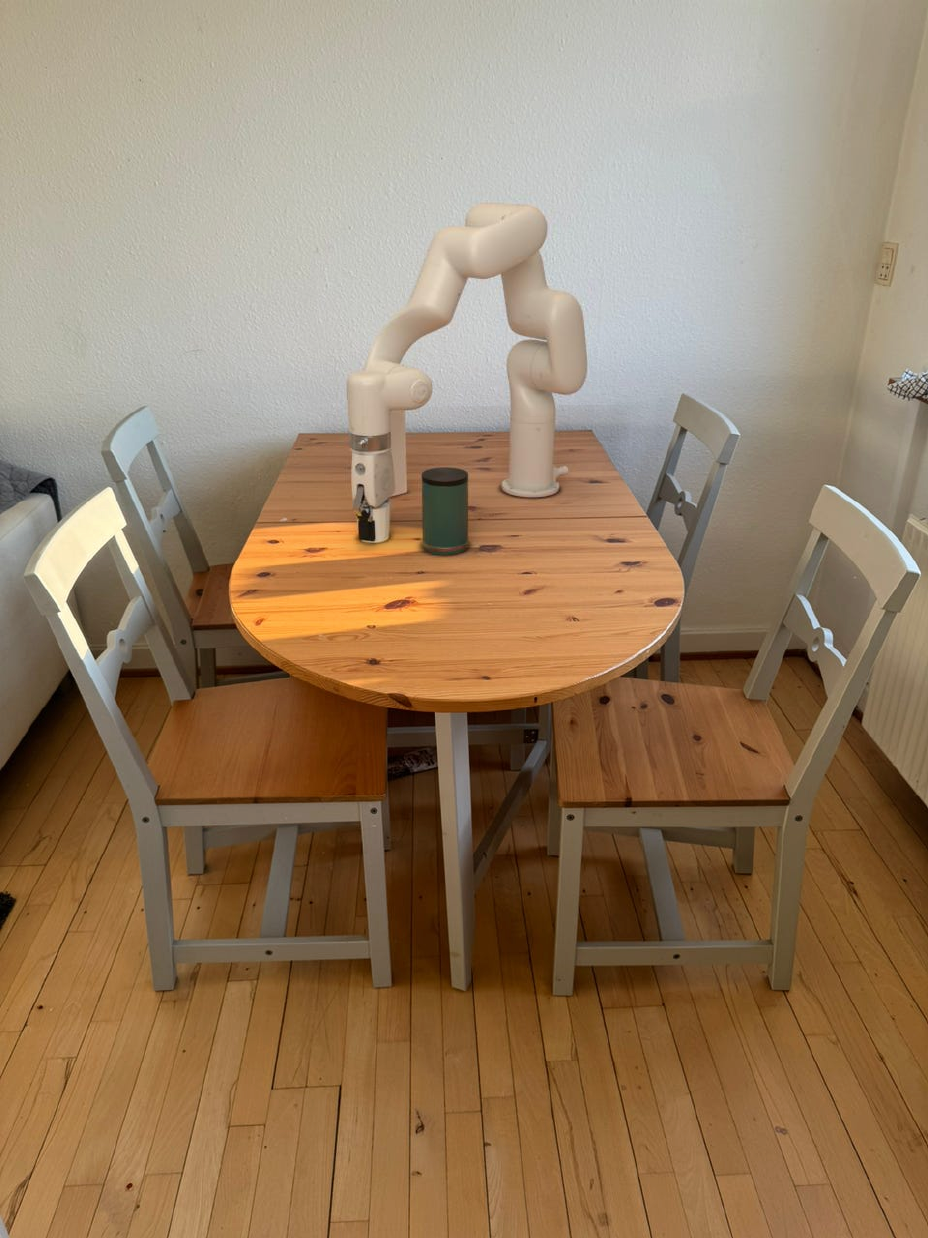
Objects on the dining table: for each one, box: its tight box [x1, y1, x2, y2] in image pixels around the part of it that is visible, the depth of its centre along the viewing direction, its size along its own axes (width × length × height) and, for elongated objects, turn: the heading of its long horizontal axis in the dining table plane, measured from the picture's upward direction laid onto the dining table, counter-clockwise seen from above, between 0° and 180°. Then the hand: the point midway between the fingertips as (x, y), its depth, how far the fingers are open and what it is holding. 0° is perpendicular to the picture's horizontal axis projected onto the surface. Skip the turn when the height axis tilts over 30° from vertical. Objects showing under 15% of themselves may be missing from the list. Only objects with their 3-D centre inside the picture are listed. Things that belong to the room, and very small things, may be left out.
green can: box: [421, 466, 469, 556], centre depth 173 cm, size 8×8×14 cm
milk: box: [390, 410, 408, 498], centre depth 199 cm, size 6×6×22 cm
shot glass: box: [355, 498, 392, 544], centre depth 178 cm, size 7×7×7 cm
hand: (374, 533), depth 180 cm, fingers closed on shot glass, 5 cm apart
